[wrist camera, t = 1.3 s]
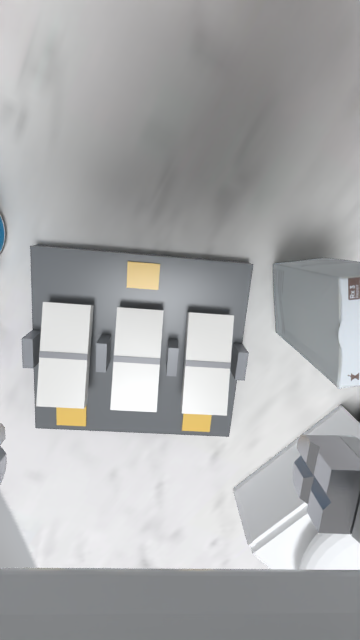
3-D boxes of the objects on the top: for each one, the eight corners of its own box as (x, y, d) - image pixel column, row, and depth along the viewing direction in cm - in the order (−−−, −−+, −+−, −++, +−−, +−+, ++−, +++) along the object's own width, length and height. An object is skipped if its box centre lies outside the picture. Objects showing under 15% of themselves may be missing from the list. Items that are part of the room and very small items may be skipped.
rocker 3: (187, 312, 34) (189, 312, 33) (230, 315, 34) (234, 315, 33) (180, 409, 34) (181, 413, 33) (223, 411, 34) (226, 415, 33)
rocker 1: (47, 302, 33) (42, 301, 32) (93, 305, 33) (90, 305, 32) (41, 402, 33) (35, 406, 32) (86, 404, 33) (83, 408, 32)
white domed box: (339, 403, 41) (445, 506, 26) (414, 488, 45) (545, 622, 30) (231, 487, 43) (270, 628, 28) (312, 561, 48) (384, 719, 32)
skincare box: (323, 327, 38) (421, 385, 24) (271, 333, 38) (338, 395, 24) (324, 252, 36) (433, 268, 21) (269, 259, 36) (341, 278, 21)
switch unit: (37, 244, 34) (18, 247, 29) (248, 262, 36) (261, 267, 31) (41, 418, 39) (25, 443, 34) (225, 426, 41) (233, 452, 36)
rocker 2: (118, 307, 33) (117, 307, 32) (163, 310, 34) (163, 310, 32) (112, 405, 34) (110, 410, 32) (156, 408, 34) (156, 412, 32)
